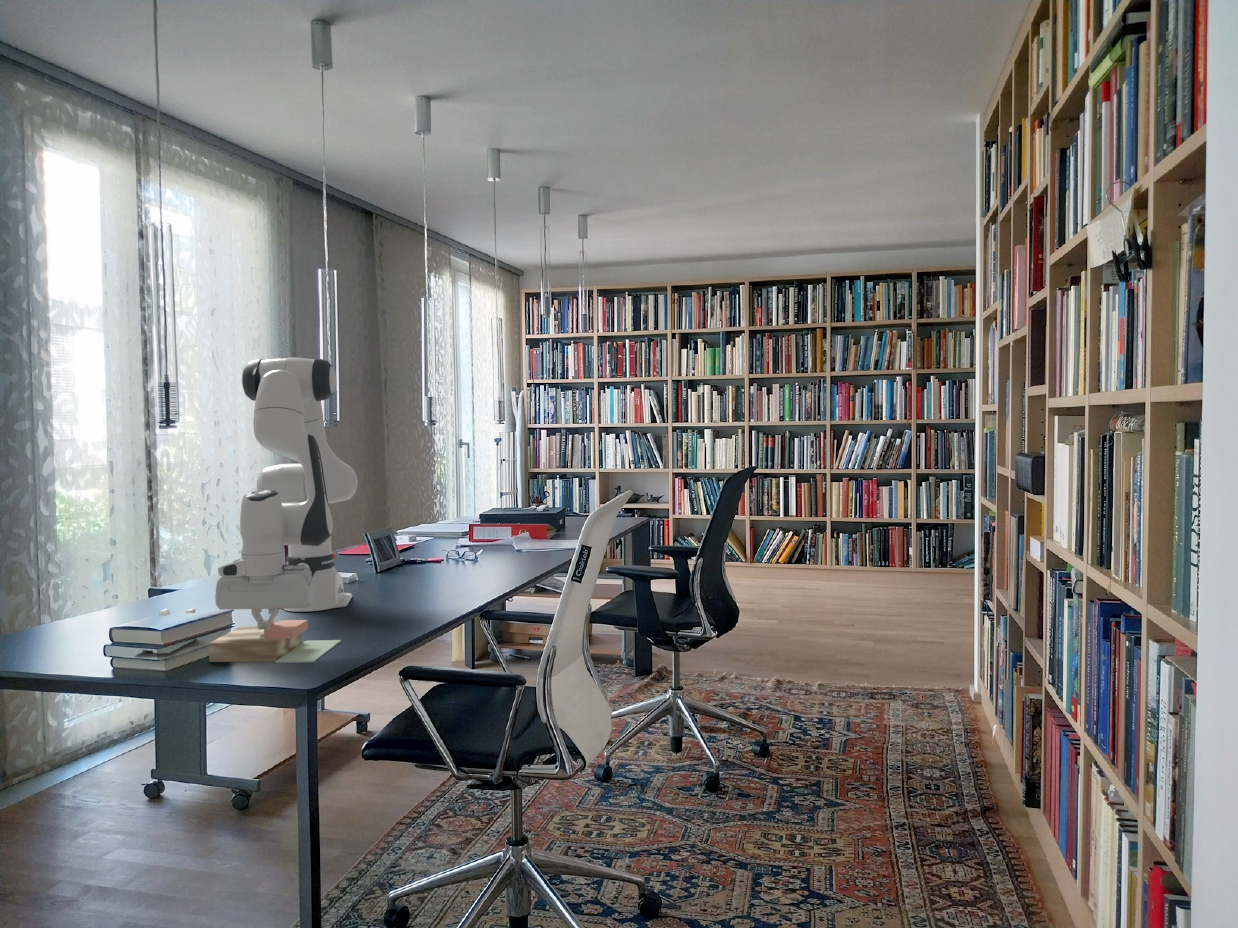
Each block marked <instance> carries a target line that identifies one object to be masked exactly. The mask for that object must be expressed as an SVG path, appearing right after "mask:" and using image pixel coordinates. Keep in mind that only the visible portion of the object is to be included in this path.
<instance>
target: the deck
mask: <svg viewBox="0 0 1238 928" xmlns="http://www.w3.org/2000/svg"><path fill="white" fill-rule="evenodd" d="M302 633H303V632H302ZM302 633H301V634H299V635H297V636H296V637H294V638H293V639H264V629H260V630H259V629H258V626H239V627H236V628H234V629H232V630H231V631H229V632H227V633H225V634H223V635H221V636H220V637H218V638H216V639H214V640H212V641H210V642H208V656H209V657H208V659H209V661H208V662H209V663H232V662H233V663H238V662H241V663H242V662H246V663H247V662H254V663H255V662H275V661H277V660H278V659H280V658H281V657H283V656H284V655H286V654H287V653H289V652H290V651H291V650H293V649H294V648H296V647H297V646H299V645H300V644H302V643H303V637H302V636H303V634H302Z"/></svg>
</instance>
